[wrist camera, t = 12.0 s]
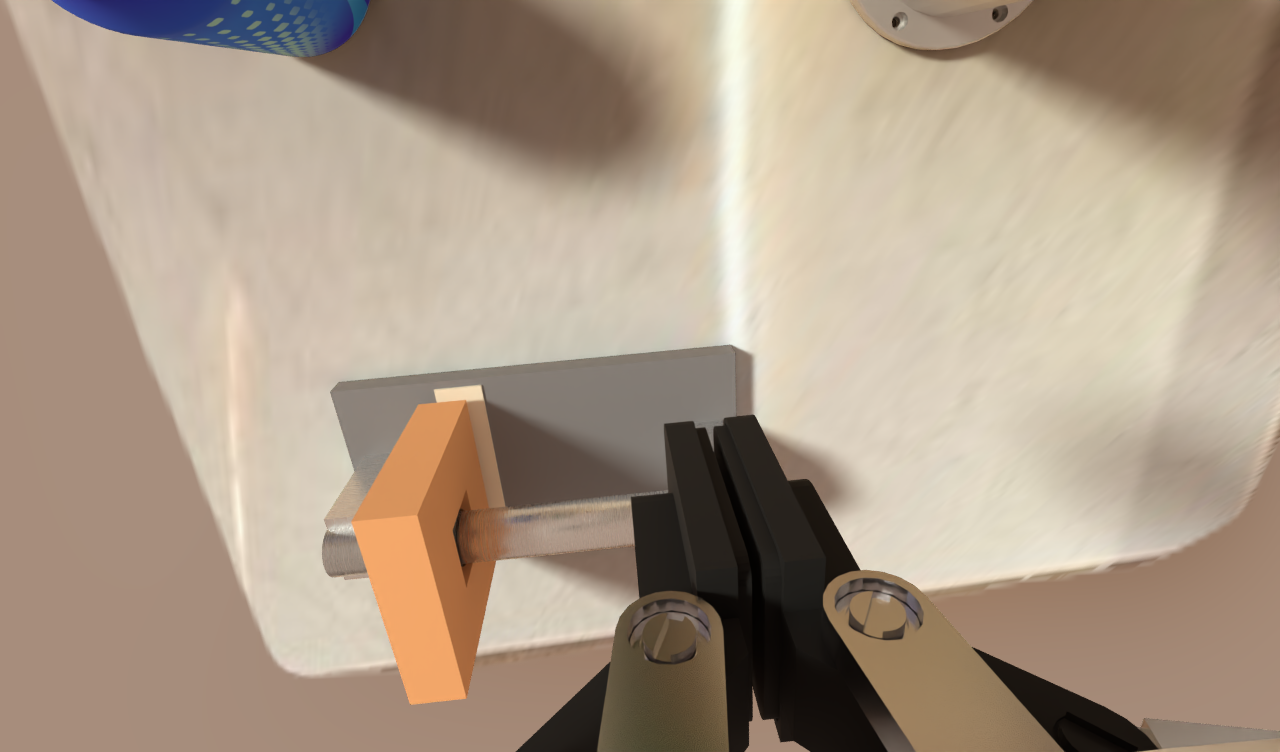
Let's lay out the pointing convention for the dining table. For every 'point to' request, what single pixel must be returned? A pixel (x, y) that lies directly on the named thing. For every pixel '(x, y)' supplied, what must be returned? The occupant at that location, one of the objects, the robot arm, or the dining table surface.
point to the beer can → (232, 22)
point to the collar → (427, 551)
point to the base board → (555, 419)
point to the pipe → (493, 525)
